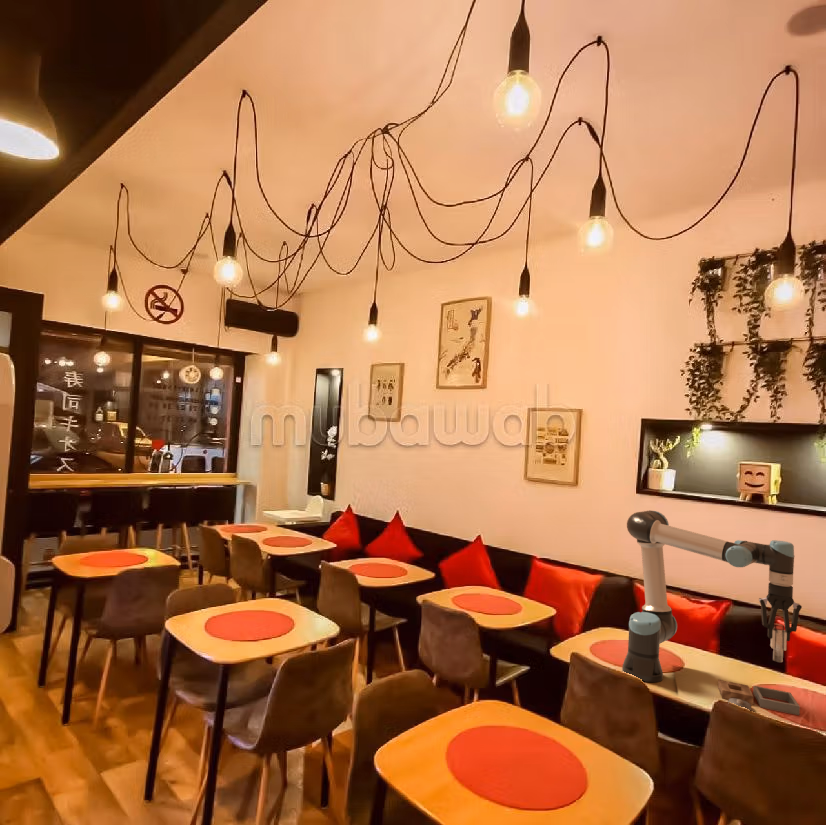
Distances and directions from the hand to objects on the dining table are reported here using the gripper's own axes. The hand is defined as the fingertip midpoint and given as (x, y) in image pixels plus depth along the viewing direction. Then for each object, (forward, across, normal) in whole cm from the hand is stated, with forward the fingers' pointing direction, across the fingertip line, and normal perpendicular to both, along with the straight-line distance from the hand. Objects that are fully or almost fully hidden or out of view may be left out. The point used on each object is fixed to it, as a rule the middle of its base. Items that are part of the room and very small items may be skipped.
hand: (778, 648), depth 206 cm
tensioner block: (+21, -13, -4) cm, 25 cm away
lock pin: (+5, 0, 0) cm, 5 cm away
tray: (+21, 0, 0) cm, 21 cm away
